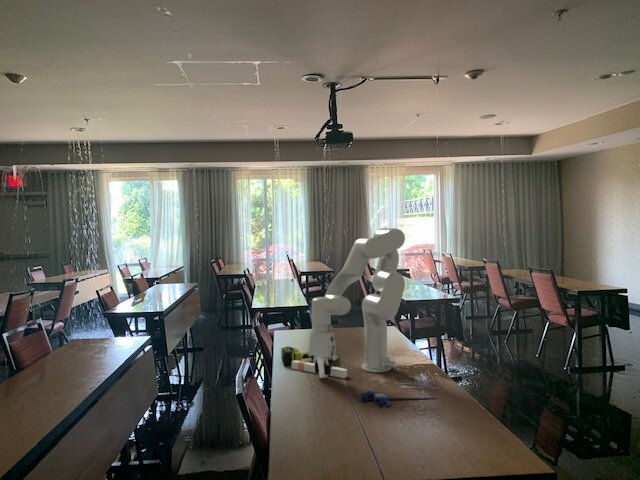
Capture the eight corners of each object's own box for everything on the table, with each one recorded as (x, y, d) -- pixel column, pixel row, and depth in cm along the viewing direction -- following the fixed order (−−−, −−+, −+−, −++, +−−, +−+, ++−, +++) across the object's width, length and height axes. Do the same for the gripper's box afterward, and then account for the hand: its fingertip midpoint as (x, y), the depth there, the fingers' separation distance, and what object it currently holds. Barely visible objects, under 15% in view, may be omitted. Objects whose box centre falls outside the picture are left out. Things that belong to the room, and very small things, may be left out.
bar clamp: (362, 402, 147) (358, 390, 157) (362, 409, 147) (358, 397, 157) (458, 402, 148) (448, 391, 158) (457, 409, 148) (448, 397, 158)
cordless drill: (280, 350, 218) (330, 348, 221) (281, 368, 193) (338, 365, 196) (279, 336, 217) (330, 334, 220) (281, 352, 193) (337, 349, 196)
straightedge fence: (347, 376, 179) (347, 368, 179) (344, 378, 177) (343, 370, 177) (295, 366, 193) (294, 359, 193) (291, 368, 191) (291, 361, 190)
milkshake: (321, 374, 182) (318, 350, 182) (331, 375, 178) (328, 351, 178) (314, 377, 178) (311, 353, 178) (324, 379, 175) (321, 354, 175)
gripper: (344, 328, 176) (345, 373, 177) (309, 324, 185) (310, 367, 186) (334, 332, 170) (336, 379, 170) (299, 328, 179) (300, 372, 179)
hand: (322, 372), depth 178 cm, fingers closed on milkshake, 4 cm apart
